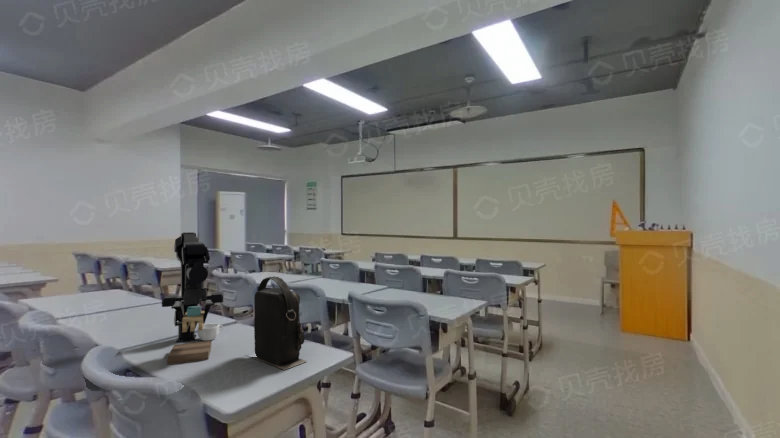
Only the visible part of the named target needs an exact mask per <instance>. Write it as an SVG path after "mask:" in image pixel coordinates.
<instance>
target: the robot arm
mask: <svg viewBox="0 0 780 438" xmlns="http://www.w3.org/2000/svg"><path fill="white" fill-rule="evenodd" d="M173 244H174V246H173V247H174V248H173V251H174V253H175V256H176V259H177V260H178V261H179V262H180V297H179V296H178V295H177V294H176V295H175V294H173V295H166V296H164V297H163V298H162V300H161V308H168V307H171V309H173V310H175V311H174V317H173V325H174V327H177V329H178V330H177V332H178V333H177V335H178V336H177V338H176V339H175V342H176V343H179V342H187V341H189V342H190V341H195V340H196V338H197V334H196V333H195V331H196V330H195V331H191V332H190V325H189V327H188V329H187V332H182V319H183V317H184V315H185V313H186V312H187V308H188V307H192V306H199V304H200V303H201V302H205V304H204V305H205V306H204V311H205V312H204V318H203V321H204V323H205V324H206V320H207V317H208V314H209V311H210V310H211V308H212V306H215V305H216V304H217V303H218V304H219V303H221V304H222V303H224V296H225V295H224V293H223V292H222V291H221V292H220V291H219V292H211V294H209V295H208V290H207V288H206V287H205V288H204V282H205V281H206V279H208V276H209V272H208V269H207V268H206V267H205V265H204V264H209V261H210V258H211V257H210V251H209V249H208V246H206V245H205V243H204V242H200V240H199V237H197V232H193V231H192V232H191V231H190V232H182V233H180V236H178V237H176V238H175V240H174V243H173ZM197 324H198V321H197Z"/></svg>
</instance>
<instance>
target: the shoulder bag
mask: <svg viewBox="0 0 780 438" xmlns="http://www.w3.org/2000/svg"><path fill="white" fill-rule="evenodd" d="M270 280H271V281H273V282H275V284H276V285H277V286H279V287H274V288H273V287H271V288H267V286H268V283H269V282H270ZM253 300H254V301H253V303H254V318H253V319H254V321H253V322H254V323H253V324H254V325H253V326H254V327H253V328H254V329H253V330H254V352H255V354H256V356H257V357H254V358H255V359H254V360H256V361H258V362H262V363H264V364H268V365H269V366H273V367H276V368H279V369H280V370H284V371H285V370H288V369H290V368H293V367H296V366H298V365H301V364H303V363H307V362H308V361H307V360H305V359H302V358H300V351H301V349H302V345H303V344H304V343H305V340H306V339H305V332H304V329H303V327H302V323H301V321H300V320H301V319H300V304H301V303H300V301H301V296H300V294H299V293H297V292H294V291H291V290H290V286H288V284H287V282H286V281H285V280H284V279H283V278H282V277H279V276H268V277H265V278H263V279H262V280H261V281H260V283H259V286H258V289H257V291H256V292H255V293H254V299H253Z"/></svg>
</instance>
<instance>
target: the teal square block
mask: <svg viewBox="0 0 780 438" xmlns="http://www.w3.org/2000/svg"><path fill="white" fill-rule="evenodd" d="M201 311H202V305H198V306H192V307H188V308H187V316H198V315H200V314H201Z"/></svg>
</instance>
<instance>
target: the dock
mask: <svg viewBox="0 0 780 438" xmlns="http://www.w3.org/2000/svg"><path fill="white" fill-rule="evenodd" d="M211 351H212V340H210V341H196V342H189V343H188V342H187V343H186V342H185V343H179V344H173V346H172V348H171V350H170V351H169V353H168V355H167V357H166V358H167V359H166V360H167V361H166V364H167V365H174V364H182V363H189V362H197V361H198V362H199V361H206V360H209V357H210V354H211Z"/></svg>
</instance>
